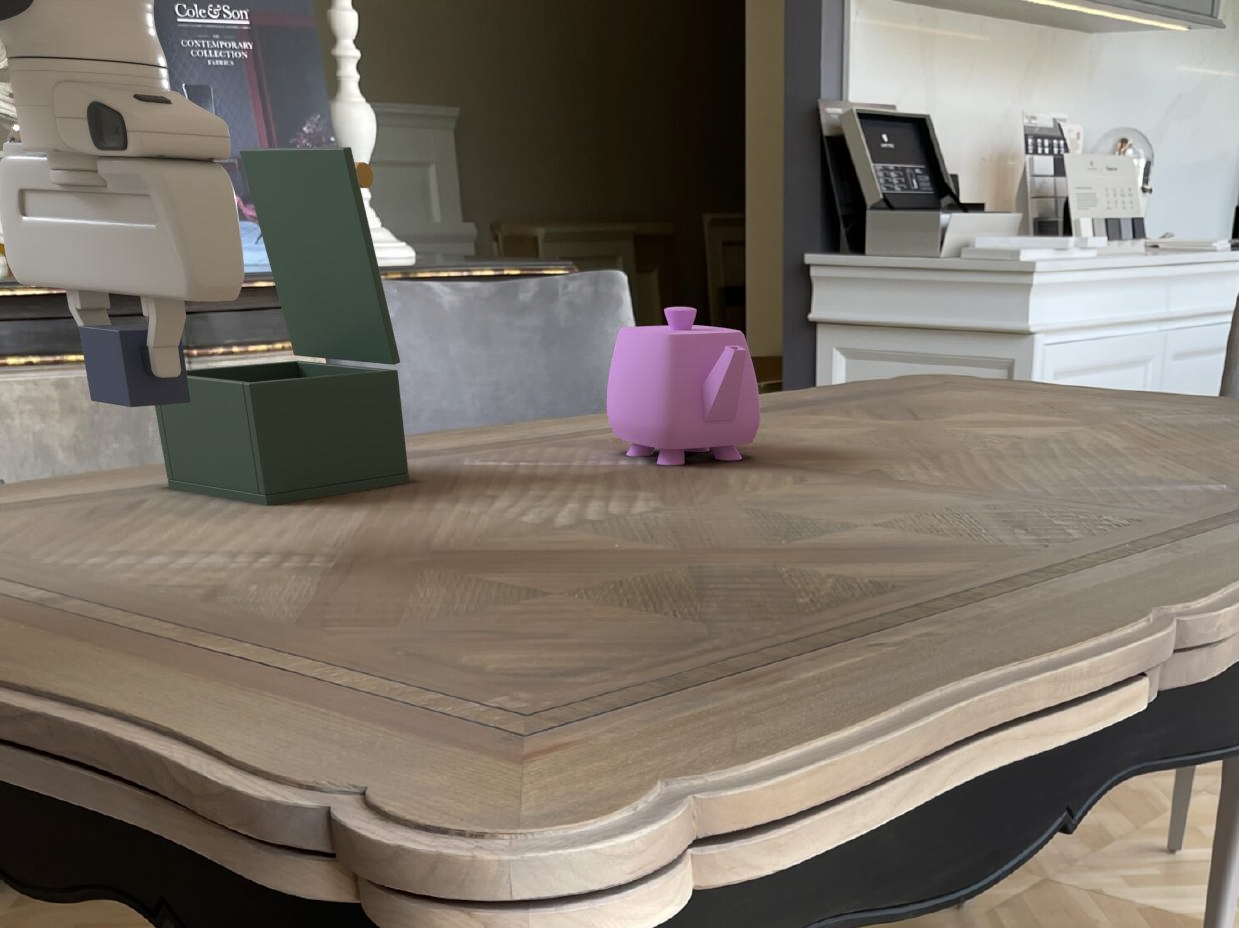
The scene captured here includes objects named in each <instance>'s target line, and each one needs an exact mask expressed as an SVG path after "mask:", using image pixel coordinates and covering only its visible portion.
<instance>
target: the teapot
mask: <svg viewBox="0 0 1239 928" xmlns="http://www.w3.org/2000/svg"><path fill="white" fill-rule="evenodd" d="M663 311H664V315H665V318H666V321H667V324H668V325H645V326H623V327H620V329H619V330H618V332H617V333H618V334H617V337H616V341H615V344H614V350H613V353H612V357H611V362H610V367H609V372H608V380H607V391H606V415H607V421H608V423H609V426H610V429H611V430H612V433H613V434H614V436H615V438H618V439H619V440H621V441H624V442H628V443H631V445H630V446H629V448H628V450H627V452H626V453H625V455H626V456H628V457H651V456H653V455H654V452H655V449H659V453H658V457H657V461H656V464H657V465H661V466H678V465H679V466H680V465H684V464H685V462H686V461H685V452H687V453H688V452H690V453H706V452H710V448H711V450H712V453H713V457H714V459H715V460H719V461H739V460H742V459H743V457H742V456H741V453H740V452H739V450H738V449H737V447H736V446H741V445H749V444H752V443H753V442H754V440H755V438H756V437H757V435H758V434H757V433H758V431H759V427H760V426H761V425H760V424H761V401H760V393H759V386H758V381H757V377H756V372H755V368H754V363H753V360H752V357H751V354H750V349H749V346H748V342H747V340H746V337H745V334H744V333H743V331H741V330H737V329H732V328H726V327H718V326H708V325H699V324H698V325H695V324H694V322H695V320H696V315H697V309H696V308H694V307H691V306H671V307H666V308H664V309H663Z"/></svg>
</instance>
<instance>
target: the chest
mask: <svg viewBox="0 0 1239 928" xmlns="http://www.w3.org/2000/svg"><path fill="white" fill-rule="evenodd" d="M186 372H187V379H188V386H189V393H190V400H191V402H190V403H181V404H168V405H155V406H154V409H155V415H156V421H157V427H158V433H159V438H160V444H161V449H162V455H163V461H164V466H165V472H166V473H165V474H166V478H167V485H168V489H169V490H174V491H181V492H187V493H191V494H198V495H204V496H210V497H215V498H220V499H221V498H222V499H227V500H233V501H239V502H246V503H251V504H256V505H264V506H273V505H278V504H284V503H291V502H296V501H303V500H310V499H314V498H316V499H317V498H322V497H328V496H333V495H334V496H335V495H340V494H346V493H352V492H359V491H364V490H365V491H366V490H371V489H377V488H382V487H383V488H384V487H389V486H396V485H402V484H408V483H409V484H410V474H409V465H408V457H407V445H406V437H405V428H404V426H405V425H404V416H403V408H402V399H401V398H402V397H401V389H400V388H401V387H400V379H399V371H398V370H397V369H392V368H391V369H390V368H381V367H369V366H360V365H349V364H338V363H330V362H329V363H327V362H320V361H319V362H317V361H307V360H288V361H276V362H275V361H274V362H263V363H251V364H240V365H239V364H238V365H237V364H236V365H227V366H226V365H225V366H214V367H202V368H190V369H186Z"/></svg>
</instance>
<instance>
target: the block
mask: <svg viewBox="0 0 1239 928" xmlns="http://www.w3.org/2000/svg"><path fill="white" fill-rule="evenodd" d="M148 327H149V324H143V323H125V324H124V323H123V324H121V323H120V324H111V325H90V326H78V333H79V338H80V343H81V350H82V356H83V361H84V367H85V373H86V379H87V385H88V392H89V398H90V401H91V402H97V403H103V404H109V405H115V406H121V407H129V408H140V407H152V406H154V407H155V405H168V404H181V403H190V402H191V400H190V393H189V386H188V379H187V372H186V370H187V365H186V358H185V351H184V343H183V335H182V336H181V340H180V344H179V346H178V351H179V358H180V366H181V373H180V375H179V376H177V377H167V378H161V377H154V376H149V375H147V374H146V373H145V371H144V370H143V360H142V357H141V350H140V346H144V345H147V337H148Z"/></svg>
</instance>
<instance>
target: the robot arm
mask: <svg viewBox="0 0 1239 928" xmlns="http://www.w3.org/2000/svg"><path fill="white" fill-rule="evenodd" d="M154 7H155V0H0V41H1V42H2V45H3V46H4V51H5V55H6V62H7V67H8V68H7V69H8V73H9V79H10V85H11V88H12V89H11V91H12V97H13V101H14V107H15V113H16V119H17V121H16V122H15V123H13V124H11V126H10V129H9V131H10V132H9V133H8V135H7V138H6V142H4V143H3V144H2V154H3V157H2V158H1V159H0V222H1V231H2V237H3V238H2V239H3V246H4V253H5V258H6V262H7V265H8V267H9V269H10V272H11V273H12V275H13V276H14V278H15V280H16V281H17V283H19V284H21V285H26V286H35V287H43V288H44V287H45V288H55V289H65V292H66V298H67V305H68V309H69V311H70V313H71V316H72V317H73V320H74V321H75V322H76V324H77V326H78V327H79V326H90V325H112V321H111V320H110V317H109V314H108V312H107V310H108V309H111V302H110V295H109V294H115V295H123V296H124V295H126V296H135V297H140V303H141V309H142V314H143V316H144V317H148V325H149V327H148V337H147V345H144V346H140V350H141V357H142V360H143V370H144V371H145V373H146V374H147V375H149V376H154V377H161V378H167V377H177V376H179V375H180V373H181V366H180V358H179V351H178V346H179V344H180V340H181V336H182V337H183V333H184V329H185V324H186V320H187V314H186V313H187V311H186V305H185V301H187V302H201V303H202V302H205V303H206V302H210V303H211V302H212V303H213V302H214V303H215V302H217V303H218V302H233V301H236V300H237V299H238V297H239V296H240V293H241V291H242V287H243V284H244V281H245V262H244V261H245V260H244V247H243V240H242V230H241V223H240V215H239V210H238V203H237V198H236V192H235V188H234V185H233V182H232V179H231V177H230V175H229V174H228V172H227V170H226V169H225V168H224V167H223V165H221V164H220V163H218V162H224V161H227V160H228V159H229V158H230V157H231V155H232V143H231V134H230V130H229V127H228V126H229V125H228V124H227V123H226V121H225V120H224V119H223V118H221V117H220V116H218V115H216V114H214V113H213V112H210V111H209V110H207V109H205V108H204V107H202V106H200V105H198V104H196V103H194V102H193V101H191V100H190V99H188V98H187V97H186V96H184V95H182V94H181V93H180V92H178V91H175V90H172V89H171V82H170V75H169V67H168V61H167V58H166V55H165V52H164V50H163V48H162V45H161V42H160V39H159V36H158V33H157V28H156V21H155V10H154ZM16 141H17V142H16ZM106 309H107V310H106Z"/></svg>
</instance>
